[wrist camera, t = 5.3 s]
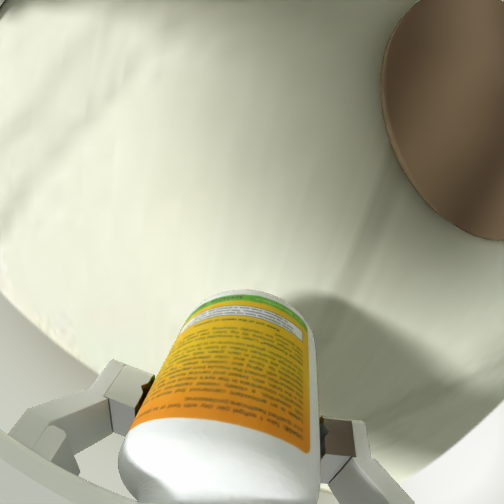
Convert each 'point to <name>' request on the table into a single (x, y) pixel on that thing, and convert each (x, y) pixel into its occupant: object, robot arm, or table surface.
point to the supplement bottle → (230, 410)
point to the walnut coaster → (450, 109)
